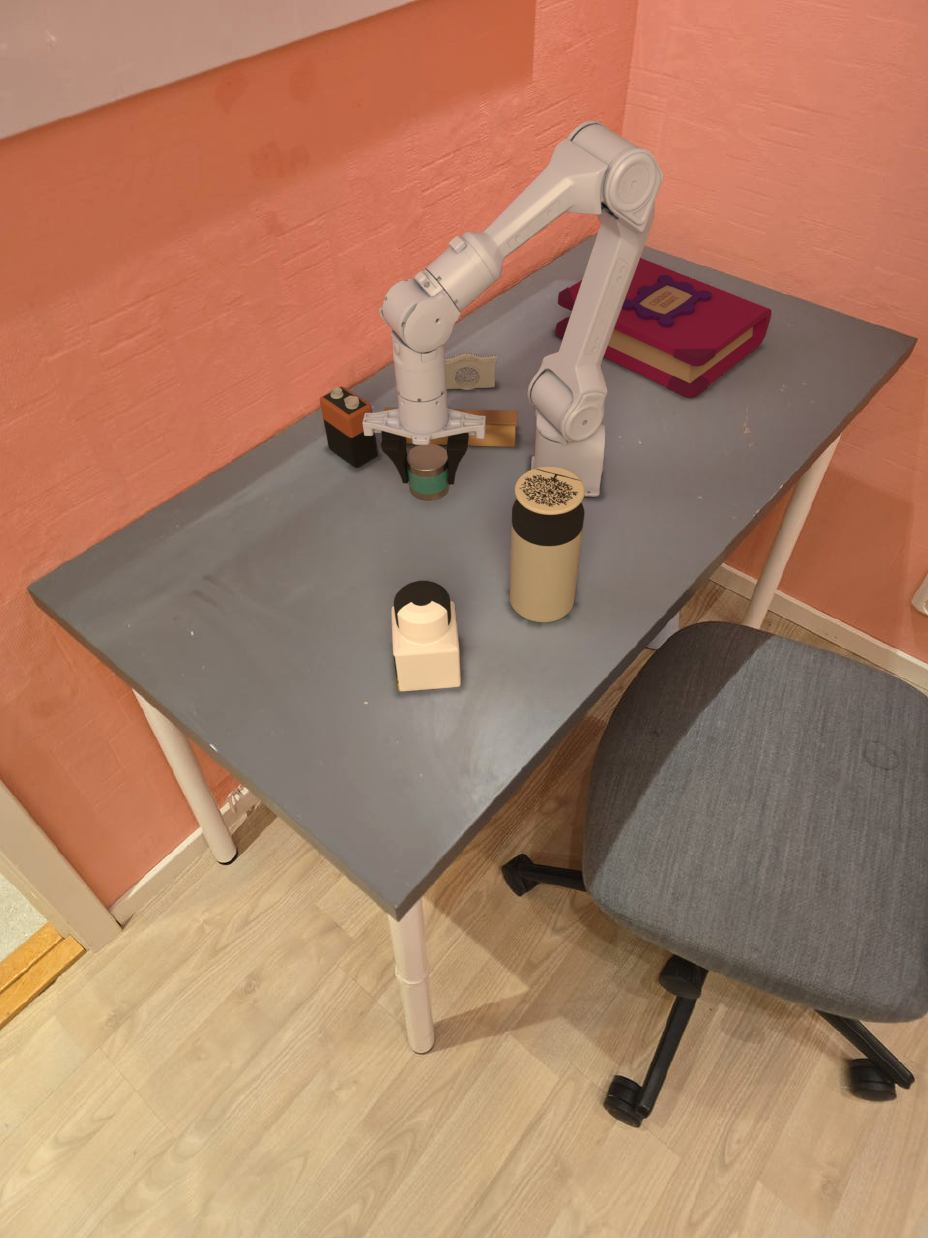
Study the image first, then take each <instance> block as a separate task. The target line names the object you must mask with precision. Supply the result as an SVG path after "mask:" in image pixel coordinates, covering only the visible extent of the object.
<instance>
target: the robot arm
mask: <svg viewBox="0 0 928 1238" xmlns="http://www.w3.org/2000/svg"><path fill="white" fill-rule="evenodd" d="M664 176H665V175H664V173H663V171H662V169H661V167H660V165H659V163H658V161H657V159H656V157H655V155H654V154H653V153H652V152H651V151H649V150H647V149H645V148H643V147H640V146H639V145H637V144H635V143H633V142H631V141H630V140H628V139H626V138H625V137H623V136H621V135H619V134H617V133H616V132H614V131H613V130H611V129H609V128H608V127H607V125H605V124H604V123H602V122H601V121H598V120H587V121H584V122H582V123H580V124H579V125H578V126H576V127H575V128H574V129H573V130H571V132H570V134H569V135H568V136H567V138H564V139H563V140H561V141H560V142H559V143H557V144H556V145H555V147H554V149H553V152H552V154H551V157H550V160H549V163H548V165H547V166H546V167H545V168H544V169H543V170H542V171H541V172H540V173H539V174H538V175H537V176H536V177H535V179H533V181H531V182H530V183H529V184H528V185H527V186H526V188H525V189H524V190H523V191H522V192H521V193H519V195H518V196H517V197H516V198H515V199H514V200H513V201H511V203H510V204H509V205H508V206H507V207H506V208H505V209H504V210H503V211H502V212H501V213H500V214H499V215H498V216H497V217H496V218H495V219H494V220H493V221H492V223H490V224H489V226H488V227H487V228H486V229H485V230H483V231H466V232H464V233H463V234H462V235H461V236H459V235H456V236H454V238H452V239H451V240H450V241H449V242H448V247H447V248H446V249H445V250H444V251H443V252H442V253H440V254H439V255H438V256H437V257H436V258H435V259H433V261H431V262H430V263H429V264H428V265H427V266H426V267H425V268H423V269H422V270H420V271H418V272H417V273H416V274H415V275H414V278H407V279H402V280H400V281H397V282H395V283H394V284H393V285H392V286H391V287H390V288H389V289H388V291H387V292H386V294H385V296H384V299H383V303H382V306H381V307H379V308H378V313H379V315H380V317H381V319H382V321H383V322H384V323H385V325H387V327H389V328H390V329H391V332H390V334H391V345H392V359H393V367H394V377H395V387H396V395H397V405H398V407H397V408H398V409H393V410H388V411H377V412H372V413H365V415H364V419H363V429H364V435H365V436H372V435H374V433H375V434H379V433H380V434H381V441H380V448H381V451H382V453H384V454H385V455H386V456H387V457H388V458H389V459H390V461H391V462H392V464H393V466H394V467H395V468H396V470H397V472H398V474H399V476H400V479H401V483H402V484H409V481H408V471H407V460H406V457H407V454H408V448H407V447H408V446H407V444H406V437H407V438H411V439H412V442H413V444H412V445H415V446H418V445H428V444H429V443H430V440H431V439H436V438H441V437H446V436H448V441H447V445H446V449H445V450H446V451H447V457H448V466H449V470H448V484H449V485H450V486H453V485H455V481H456V473H457V471H458V468H459V465H460V463H461V461H462V459H463V458H464V456H465V455H466V454H467V451H468V447H469V445H468V440H469V435H476V438H478V439H485V431H486V416H480V415H473V414H468V413H464V412H460V411H456V410H452V409H453V408H449V406H448V391H447V390H448V389H447V387H446V368H445V358H446V352H445V351H446V350H445V344H446V343H447V341H448V340H449V338H450V337H451V335H452V332H453V330H454V326H455V324H456V322H457V321H458V320H459V319H460V316H461V313H462V312H463V311H464V310H465V309H466V308H467V307H469V306H470V305H471V304H472V303H473V302H474V301H475V300H476V299H477V298H479V297H480V296H481V295H482V294H483V293H484V292H486V291H487V290H488V289H489V288H490V287H491V286H492V285H493V284H495V283H496V282H497V281H498V280H499V279H500V278H501V276H502V271H503V265H504V260H505V259H506V258H508V257H509V256H511V254H513V253H514V252H515V251H516V250H518V249H519V248H521V247H522V246H524V245H525V244H526V243H527V242H528V241H530V240H531V239H532V238H534V237H535V236H536V235H538V234H540V232H541V231H543V230H544V229H545V228H547V227H548V226H549V225H551V224H552V223H553V222H554V221H557V219H558V218H560V217H561V216H562V215H564V214H566V213H569V214H570V213H571V214H582V215H593V216H597V219H598V220H599V223H600V224H599V229H598V231H597V234H596V237H595V241H594V244H593V246H592V250H591V252H590V255H589V258H588V262H587V264H586V268H585V270H584V274H583V277H582V279H581V280H582V283H581V286H580V289H579V292H578V295H577V298H576V301H575V304H574V307H573V310H572V311H571V313H570V315H569V317H570V319H569V322H568V325H567V328H566V331H565V334H564V337H563V339H561V344H560V346H559V349H558V351H557V352H553V353H550V354H547V355H546V356H544V357H543V359H542V362H541V365H540V367H539V369H538V370H537V372H536V373H535V375H534V376H533V377H532V379H531V380H530V382H529V384H528V387H527V392H526V393H527V395H526V396H527V399H528V402H529V403H530V404H531V406H533V407H534V408H535V413H534V414H535V418H536V424H535V441H534V442H535V444H534V445H535V446H534V455H532V456H531V464H530V466H531V467H530V470H532V469H535V468H539V467H558V468H562V469H565V470H568V471H570V472H572V473H573V474H575V475H576V476H577V477H578V478H579V479H580V480H581V481H582V483H583V485H584V489H585V494H584V497H591V498H593V497H594V498H596V497H599V496H600V494H601V493H600V488H601V480H602V474H603V472H604V457H605V447H606V446H605V445H606V424H605V423H603V420H604V416H605V401H606V397H607V395H608V391H609V390H608V386H607V383H606V379H605V376H604V373H603V369H602V363H603V359H604V354H605V351H606V349H607V346H608V343H609V341H610V338H611V335H612V332H613V330H614V327H615V324H616V322H617V319H618V316H619V313H620V311H621V308H622V305H623V303H624V300H625V297H626V295H627V292H628V289H629V286H630V284H631V281H632V278H633V276H634V273H635V270H636V268H637V265H638V262H639V259H640V258H642V254H643V251H644V248H645V246H646V243H647V240H648V237H649V235H650V233H651V229H652V227H653V223H654V220H655V212H656V211H655V209H656V200H657V197H658V194H659V191H660V188H661V186H662V183H663V181H664Z"/></svg>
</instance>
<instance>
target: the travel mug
mask: <svg viewBox="0 0 928 1238" xmlns="http://www.w3.org/2000/svg"><path fill="white" fill-rule="evenodd" d="M584 494H585V489H584V485H583V483H582V481H581V480H580V479H579V478H578V477H577V476H576V475H575V474H573V473H572V472H570V471H568V470H565V469H562V468H558V467H539V468H535V469H532V470H531V469H530V470H528V471H526V472H524V473H523V474H522V475H521V476H520V477H519V478H518V479H517V481H516V483H515V486H514V495H515V497H516V498H515V500H514V502H513V504H512V508H511V531H510V532H511V533H510V535H511V536H510V537H511V538H510V539H511V540H510V567H509V568H510V570H509V571H510V573H509V575H510V576H509V602H510V604H511V607H512V609H513V610H514V611H515V612H516V613H517V614H518V615H519V616H521V617H522V618H524V619H526V620H528V621H532V622H537V623H550V622H554V621H558V620H561V619H562V618H564V617H565V616H566V615H569V613H570V612H571V610H572V609H573V607H574V605H575V600H576V590H577V581H578V573H579V565H580V556H581V548H582V538H583V530H584V523H585V522H584V521H585V508H584V505H583V503H582V501H583V500H584V498H585V496H584Z"/></svg>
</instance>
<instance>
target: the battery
mask: <svg viewBox="0 0 928 1238" xmlns="http://www.w3.org/2000/svg"><path fill="white" fill-rule="evenodd" d="M319 404H320V409H321V415H322V420H323V425H324V426H323V427H324V430H325V431H324V432H325V436H326V441H327V447H328V449H329V450H330V451H331V452H332V453H334V454H335V455H337V456H338V457H339V458H341V459H342V460H343V461H345V462H346V463H348V464H349V465H350V466H352V467H353V468H355V469H359V468H360V467H362V466H363V465H365V464H367V463H368V462H371V461H372V460H374V459H375V458H377V457H378V454H379V453H378V445H377V438H376V437H377V436H376V433H374V435H372V436H365V435H364V429H363V419H364V415H365V413H373V408H372V404H370V402H367V401H366V400H365V399H363V398H362V397H359V396H358V395H357V394H356V393H354V392H353V391H351V390H350V389H348V388H346V387H345V386H342V385H341V386H339V387H333V388H332V389H330V391H329V392H328V393H326V394H324V395H322V396H321V397H320V398H319Z"/></svg>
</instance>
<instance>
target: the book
mask: <svg viewBox="0 0 928 1238" xmlns="http://www.w3.org/2000/svg"><path fill="white" fill-rule="evenodd" d="M582 280H583V279H581V280H578V281H577V282H576V283H574V284H572V285H571V286H567V287H566V288H564V289H562V290H560V291H559V292H558V294H557V304H558V305H559V306H560V307H562V308H564V309H566V310H568V311H570V312H572V310H573V307H574V304H575V301H576V298H577V295H578V292H579V289H580V286H581V283H582ZM772 313H773V312H772V309H771V308H770V307H769V308H768V307H766V306H764V305H761V304H759V303H756V302H754V301H751V300H748V299H746V298H744V297H742V296H738V295H736V294H734V293H731V292H728V291H725V290H723V289H721V288H718V287H715V286H713V285H711V284H708V283H705V282H703V281H700V280H699V279H698V280H697V279H695V278H692V277H691V276H688V275H685V274H683V273H680V272H678V271H675V270H672V269H670V268H668V267H665V266H663V265H660V264H658V263H655V262H653V261H650V260H648V259H645V258H643V257H640V259H639V262H638V265H637V268H636V270H635V273H634V276H633V278H632V281H631V284H630V286H629V289H628V292H627V295H626V297H625V300H624V303H623V305H622V308H621V311H620V313H619V316H618V319H617V322H616V324H615V327H614V330H613V332H612V335H611V338H610V341H609V343H608V346H607V349H606V351H605V354H604V357H603V359H604V358H605V359H606V360H609V361H611V362H613V363H615V364H617V365H618V366H619V365H620V366H621V367H624V368H626V369H627V370H629V371H632V372H634V373H636V374H638V375H640V376H642V377H645V378H647V379H649V380H651V381H653V382H655V383H656V384H660V385H661V386H664V387H666V388H667V390H669V391H671V392H674V393H676V394H678V395H680V396H682V397H685V398H688V399H692V398H697V397H698V396H700V395H701V394H702V393H703V392H705V391H706V390H707V389H708V387H709V386H710V385H712V384H713V383H714V382H716V381H717V380H718V379H719V378H721V377H722V376H723V375H724V374H726V373H727V372H729V370H731V369H733V367H735V366H736V365H738V364H739V363H740V362H741V361H742V360H744V359H745V358H746V357H748V356H749V355H750V354H751V353H753V352H754V351H755V350H757V349H758V348H759V347H760V346H761V344H762V343H763V341H764V339H765V337H766V335H767V332H768V330H769V325H770V321H771V318H772ZM569 319H570V316H568V317H567V316H566V317H565V318H563V319H562V320H560V321H559V322H556V325H555V336H556V337H557V338H559V339H560V340H563V337H564V334H565V331H566V328H567V325H568V322H569Z"/></svg>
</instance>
